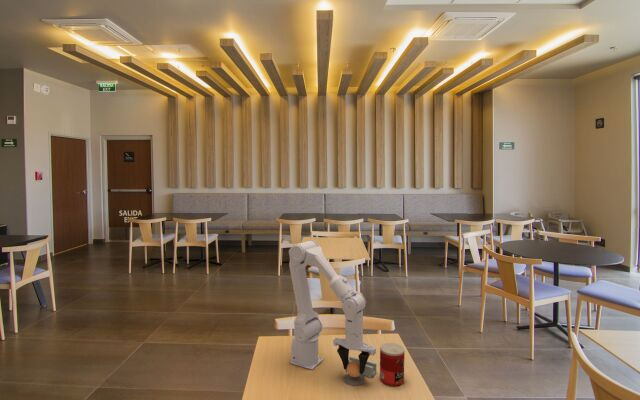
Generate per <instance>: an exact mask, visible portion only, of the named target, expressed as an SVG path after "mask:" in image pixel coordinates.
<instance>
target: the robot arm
mask: <svg viewBox="0 0 640 400" xmlns="http://www.w3.org/2000/svg"><path fill="white" fill-rule="evenodd" d="M288 255H289V263H288V267H289V272H290V277H291V282H292V288H293V294H294V298H295V303H296V309H297V315H296V316H295V318H294V321H293V325H294V328H293V335H294V337H293V338H292V341H291V344H290V353H291V357H290V358H291V359H290V362H289V363H290V364H292V365H295V366H299V367H301V368H306V369H309V370H314V369H315V368H316V367H317V366H318V365H320V363H322V362H323V360H324V358H322V357H319V337H320V333H321V332H322V330H323V323H322V321H321V319H320V317H319V313H318V312H316V311H315V310H314V309H313V304H312V297H311V292H310V288H309V281H308V277H307V276H308V275H307V272H306V271H307V270H306V267H307V265H313V266H315V267H316V268H317V269H318V270H319V271H320V273H321V274H322V275H323V276H324V277H325V278H326V279H327V280H328V281H329V288H330V289H331V291H332V292H333V293H334V294H335V296H336V297H337V298H338V300H339V301H340V302H341V303H342V304H341V308H342V310H343V312H344V317H345V318H344V319H345V321H344V322H345V329H344V330H345V334H344V335H345V336H344V337H345V338H339V337H335V338H334V339H333V340H332V341H333V345H332V346H335V347H336V346H337V347H338V348H337V349H336V350H337V354H338V356H339V357H340V360H341V362H342V366H343V367H342V368H343V369H344V370H345V371H347V370H346V369H347V365H348V363H349V357H350V355H349V354H350V351H357V352H360V353H359V354H358V357H357V358H359V362H360V375H361V374H363V373H364V370H365V366H366V363H367V361H369V360H368V359H369V357H371V356H373V357H374V356H375V355H376V353H377V348H376V347H375V346H372V345H370V344H368V343H366V342H364V309H365V308H366V306H367V299H366V297H365V296H364V294H363V293H361V292H360V291H359V292H358V291H357V290H355V289H354V288H353V286H352V285H351V284H350V283H349V281H348V279H347V277H344V276H343V275H340V274H338V273H337V272H336V271H335V269H334V268H333V266H332V264H331V263H330V261H328V259H327V258H326V256H325V255H324V253H323V248H322V247H321V246H320V244H318V242H317V241H316V240H314V239H309V240H308V241H307V240H306V241H304V242H300V243H295V244H293V245H292V246H291V247H290V248H289V250H288Z"/></svg>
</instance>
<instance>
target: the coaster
mask: <svg viewBox="0 0 640 400" xmlns="http://www.w3.org/2000/svg"><path fill="white" fill-rule="evenodd" d="M365 381H366V380H365V377H364V375H361V374H360V375H359V376H358V377H351V376H350V375H349V374H348V373H347V374H345V375H344V376H343V382H344V383H345V384H347V385H349V386H352V387H353V386H355V387H356V386H361V385H363V384H364V383H365Z"/></svg>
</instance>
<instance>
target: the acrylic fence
mask: <svg viewBox="0 0 640 400" xmlns="http://www.w3.org/2000/svg"><path fill="white" fill-rule="evenodd" d="M351 361H357V362H359V357H355V356H353V355H352V356H351V355H349V362H351ZM359 363H360V362H359ZM345 371H347V369H346V370H345ZM360 375H362V376H365V377H369V378H374V377H375V375H377V362H373V361H370V360H367V363H366V366H365V370H364V373H363V374H360Z"/></svg>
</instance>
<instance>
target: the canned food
mask: <svg viewBox="0 0 640 400" xmlns="http://www.w3.org/2000/svg"><path fill="white" fill-rule="evenodd" d="M379 349H380V350H379V378H380V381H381V382H382V383H383V384H385V385H387V386H389V385H390V386H391V387H398V385H399V386H400V385H402V384H404V380H405V348H404V347H403V346H402V345H401V344H398V343H394V342H385V343H382V344H381V345H380V348H379Z"/></svg>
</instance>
